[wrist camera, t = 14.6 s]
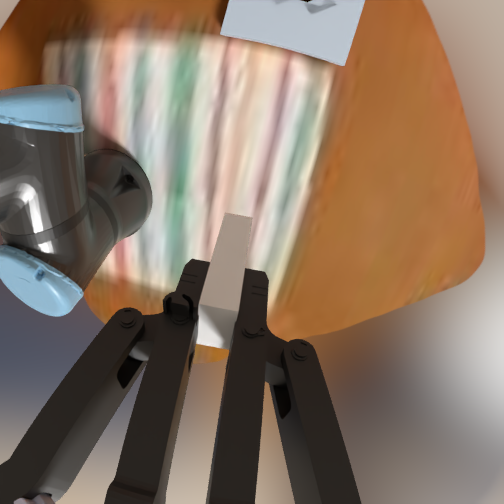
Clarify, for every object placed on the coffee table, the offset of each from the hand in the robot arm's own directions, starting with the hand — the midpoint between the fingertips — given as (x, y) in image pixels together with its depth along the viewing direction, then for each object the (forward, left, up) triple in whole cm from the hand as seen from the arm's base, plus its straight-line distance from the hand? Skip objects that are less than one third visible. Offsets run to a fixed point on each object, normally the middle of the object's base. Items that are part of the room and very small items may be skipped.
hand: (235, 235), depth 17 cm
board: (0, +20, -24) cm, 31 cm away
